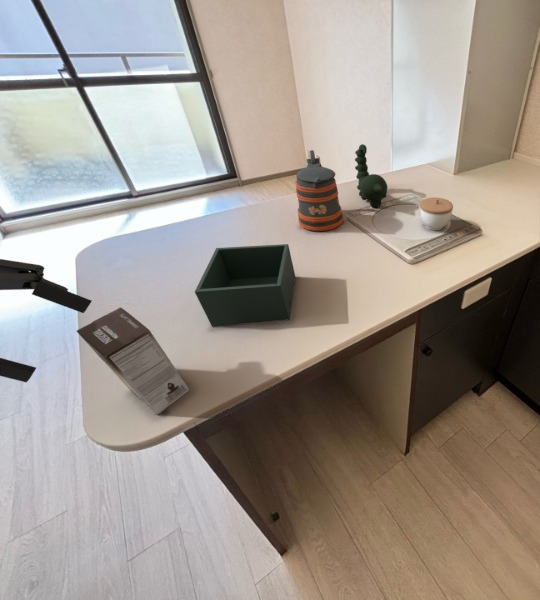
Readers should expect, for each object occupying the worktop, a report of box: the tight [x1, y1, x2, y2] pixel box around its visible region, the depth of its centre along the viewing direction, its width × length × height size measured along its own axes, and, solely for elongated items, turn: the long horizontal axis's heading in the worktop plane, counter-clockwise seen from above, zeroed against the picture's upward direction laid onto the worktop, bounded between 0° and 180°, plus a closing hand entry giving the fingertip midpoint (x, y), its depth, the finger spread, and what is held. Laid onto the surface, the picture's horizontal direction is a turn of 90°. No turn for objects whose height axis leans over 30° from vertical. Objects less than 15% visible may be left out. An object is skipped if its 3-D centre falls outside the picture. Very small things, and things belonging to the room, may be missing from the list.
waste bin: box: [194, 243, 296, 328], centre depth 75 cm, size 17×17×10 cm
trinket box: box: [419, 196, 454, 231], centre depth 107 cm, size 11×11×9 cm
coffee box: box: [76, 307, 190, 416], centre depth 54 cm, size 9×6×16 cm
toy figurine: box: [354, 143, 388, 208], centre depth 118 cm, size 9×19×25 cm
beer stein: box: [295, 149, 344, 232], centre depth 105 cm, size 19×15×20 cm
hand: (63, 337), depth 48 cm, fingers open, 13 cm apart
